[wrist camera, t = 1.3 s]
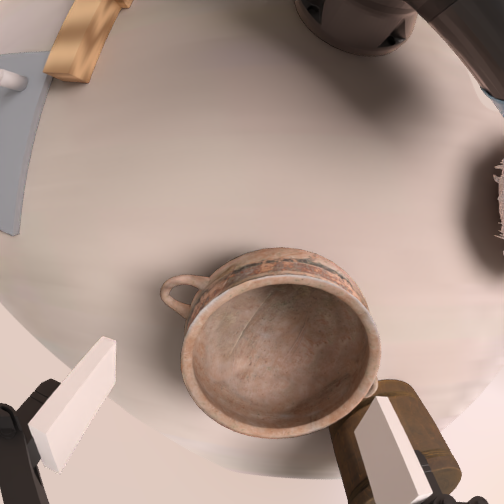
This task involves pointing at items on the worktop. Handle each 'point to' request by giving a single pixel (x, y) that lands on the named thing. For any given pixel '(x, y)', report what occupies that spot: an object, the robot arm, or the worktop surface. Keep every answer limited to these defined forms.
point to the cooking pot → (277, 343)
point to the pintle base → (18, 127)
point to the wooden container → (416, 428)
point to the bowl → (501, 197)
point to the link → (82, 39)
